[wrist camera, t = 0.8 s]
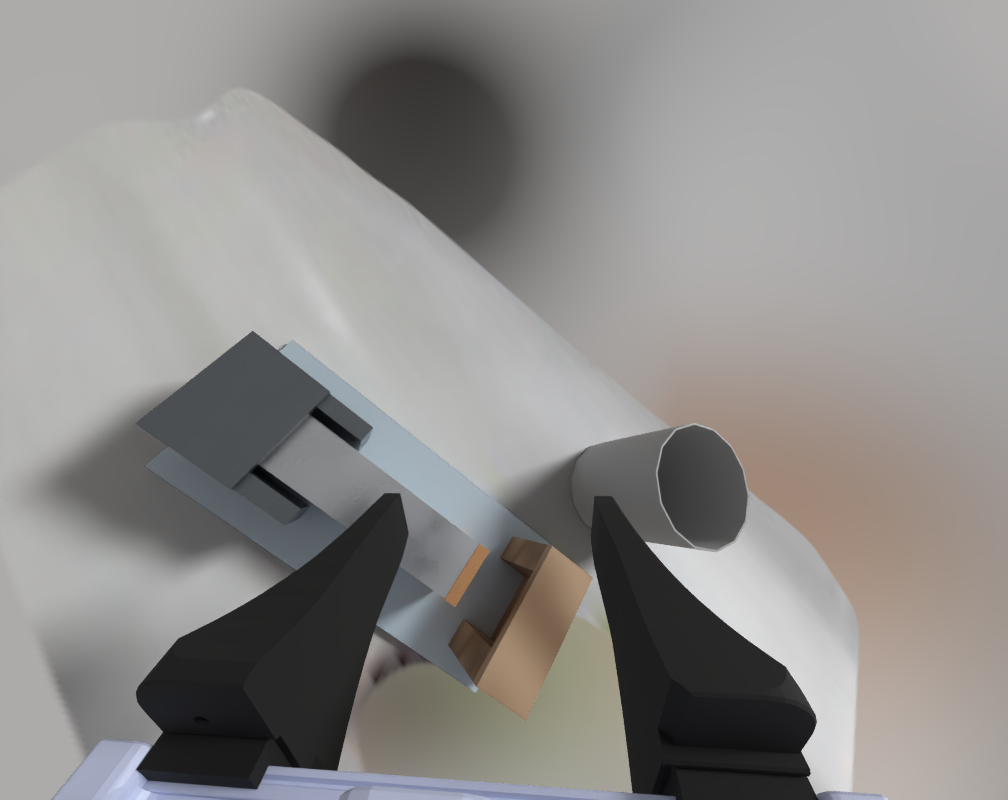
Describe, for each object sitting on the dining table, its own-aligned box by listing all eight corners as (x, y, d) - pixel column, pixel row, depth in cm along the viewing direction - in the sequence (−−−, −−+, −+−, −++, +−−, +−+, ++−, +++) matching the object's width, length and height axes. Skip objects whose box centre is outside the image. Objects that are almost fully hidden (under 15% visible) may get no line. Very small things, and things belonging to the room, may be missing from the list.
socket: (487, 672, 26) (525, 720, 20) (447, 644, 25) (476, 686, 19) (545, 562, 29) (592, 577, 23) (512, 536, 29) (552, 545, 23)
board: (473, 688, 26) (476, 692, 25) (149, 467, 22) (144, 466, 21) (550, 546, 30) (554, 547, 30) (294, 342, 26) (292, 339, 26)
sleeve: (297, 519, 23) (282, 526, 18) (187, 441, 22) (135, 423, 17) (368, 440, 26) (373, 425, 21) (273, 366, 25) (252, 331, 20)
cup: (554, 498, 31) (637, 499, 22) (596, 425, 35) (682, 399, 26) (624, 555, 33) (729, 577, 24) (658, 479, 36) (760, 473, 27)
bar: (437, 589, 25) (455, 607, 21) (228, 437, 23) (201, 424, 19) (467, 542, 27) (489, 551, 23) (274, 395, 24) (259, 374, 20)
